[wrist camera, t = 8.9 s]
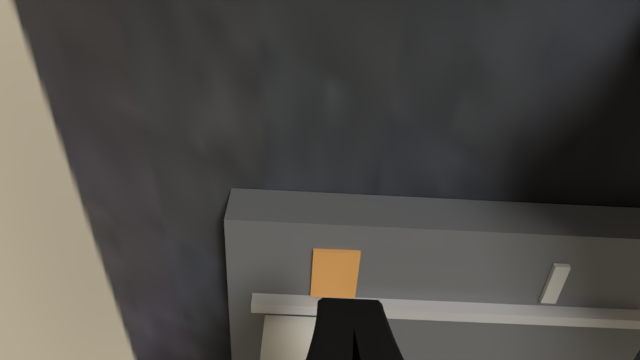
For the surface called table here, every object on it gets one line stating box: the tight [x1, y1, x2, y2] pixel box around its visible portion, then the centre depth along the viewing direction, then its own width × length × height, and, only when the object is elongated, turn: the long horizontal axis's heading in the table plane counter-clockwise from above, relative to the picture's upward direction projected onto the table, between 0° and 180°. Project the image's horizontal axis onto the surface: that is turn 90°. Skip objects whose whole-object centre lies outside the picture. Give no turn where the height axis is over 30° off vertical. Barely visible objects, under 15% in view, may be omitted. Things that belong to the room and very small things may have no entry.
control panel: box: [224, 188, 640, 360], centre depth 25 cm, size 18×14×3 cm
